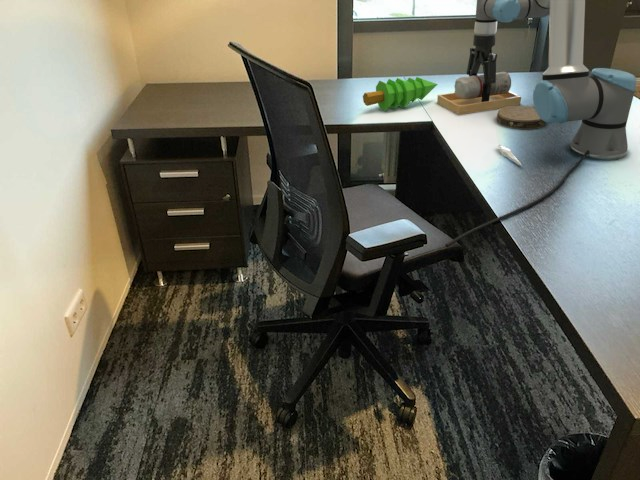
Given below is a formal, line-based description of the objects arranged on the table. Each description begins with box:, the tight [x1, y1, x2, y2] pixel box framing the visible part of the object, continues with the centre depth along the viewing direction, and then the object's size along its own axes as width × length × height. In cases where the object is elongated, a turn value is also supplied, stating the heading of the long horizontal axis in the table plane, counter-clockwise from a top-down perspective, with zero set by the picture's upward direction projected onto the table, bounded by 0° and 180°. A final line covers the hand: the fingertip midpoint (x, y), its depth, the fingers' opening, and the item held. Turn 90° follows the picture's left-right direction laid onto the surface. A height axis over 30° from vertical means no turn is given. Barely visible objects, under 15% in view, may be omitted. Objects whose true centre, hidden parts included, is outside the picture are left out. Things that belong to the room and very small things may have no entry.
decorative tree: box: [362, 76, 439, 112], centre depth 206 cm, size 11×12×30 cm
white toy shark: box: [497, 144, 523, 167], centre depth 161 cm, size 15×3×2 cm, turn 9°
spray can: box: [454, 70, 512, 99], centre depth 203 cm, size 8×8×20 cm
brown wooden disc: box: [496, 105, 547, 130], centre depth 187 cm, size 16×16×3 cm
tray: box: [436, 91, 522, 116], centre depth 206 cm, size 26×16×3 cm, turn 108°
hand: (478, 98), depth 205 cm, fingers closed on spray can, 8 cm apart
